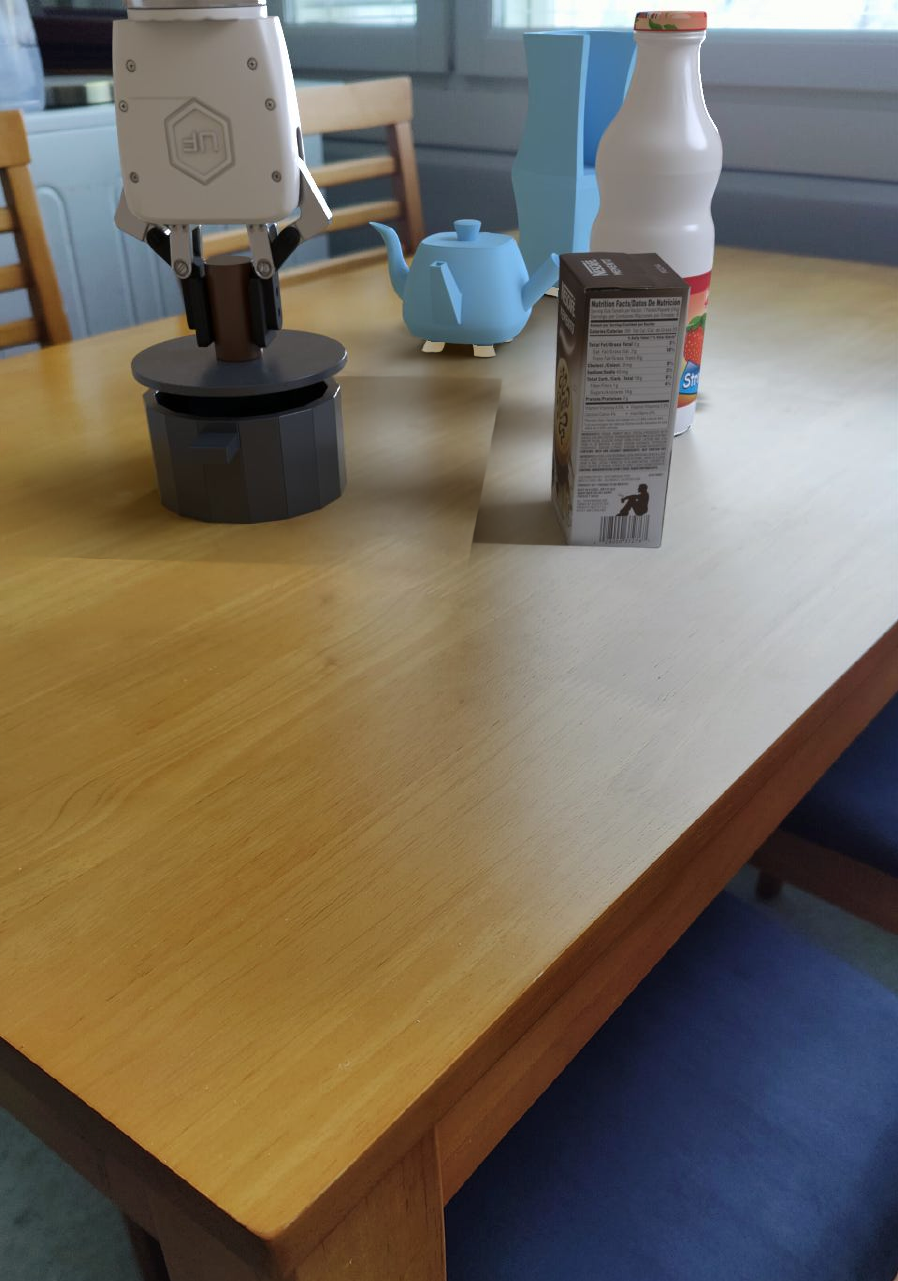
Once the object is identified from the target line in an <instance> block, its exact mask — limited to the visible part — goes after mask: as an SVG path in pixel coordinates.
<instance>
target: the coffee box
mask: <svg viewBox="0 0 898 1281" xmlns="http://www.w3.org/2000/svg"><path fill="white" fill-rule="evenodd" d="M559 261H560V262H559V290H558V297H557V315H556V316H557V319H556V320H557V321H556V322H557V323H556V342H555V344H556V347H555V348H556V349H555V376H554V405H553V407H554V408H553V428H552V449H551V450H552V453H551V480H550V482H551V483H550V485H551V486H550V502H551V504H552V507H553V509H554V511H555V514H556V516H557V520H558V523H559V525H560V528H561V531H562V533H563V536H564V539H565V542H566V544H567V546H568V547H591V548H592V547H593V548H596V547H598V548H599V547H600V548H601V547H602V548H628V549H629V548H633V549H657V548H660V547H662V543H663V542H662V541H663V535H664V534H663V532H664V525H665V515H666V514H665V513H666V505H667V497H668V490H669V480H670V473H671V472H670V471H671V464H672V455H673V447H674V438H675V436H674V430H675V422H676V413H677V404H678V396H679V387H680V378H681V370H682V361H683V351H684V342H685V333H686V324H687V315H688V305H689V296H690V288H691V286H690V285H689V284H688V283H687V282H686V281H685V280H684V279H683V278H681V277H680V276H679V275H678V274H677V273H676V272H675V271H674V270H673V269H672V268H671V267H670V266H669V265H668V264H667V263H666V262H665V261H664V260H663V259H662V258H661V257H660V256H659V255H658V254H657V253H639V254H626V253H616V252H585V253H566V254H561V255H559Z"/></svg>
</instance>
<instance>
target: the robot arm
mask: <svg viewBox="0 0 898 1281" xmlns="http://www.w3.org/2000/svg"><path fill="white" fill-rule="evenodd" d="M121 5H122V7H126V14H127V19H115V20H113V21H112V80H113V98H114V99H113V100H114V113H115V123H116V136H117V137H116V138H117V145H118V146H117V147H118V156H119V166H120V172H121V180H122V189H121V192H120V195H119V199H118V202H117V205H116V208H115V212H114V215H113V223H114V226H115V227H116V228H117V229H118V230H120V231H122V232H123V233H125V234H127V235H128V236H130V237H132V238H135V239H136V240H138V241H140V242H143V243H145V244H146V245H148V246H149V248H150V249H151V250H152V251H153V252H155V253H156V254H157V255H158V256H159V258H161V259H162V260H163V262H165V264H167V265H168V266H169V267H170V268H171V270H172V273H173V275H174V276H175V277H176V278H178V279H180V281H181V289H182V297H183V302H184V303H183V304H184V309H185V317H186V322H187V327H188V329H189V330H190V331H195V332H194V333H195V334H196V339H197V344H198V347H208V346H209V345H211V344H212V343H213V342H214V338H213V331H212V323H211V316H210V309H209V301H208V294H207V286H206V279H205V271H204V264H203V263H204V261H205V260H204V246H203V225H206V226H208V225H212V226H213V225H214V226H215V225H218V226H220V225H223V226H224V225H225V226H226V225H228V226H229V225H235V226H236V225H245V228H246V233H247V238H248V243H249V248H250V253H251V258H252V260H253V267H252V272H253V277H252V278H251V279H250V280H249V281H248V291H249V299H250V308H251V317H252V326H253V334H254V343H255V345H258V347H259V348H267V347H268V346H269V345H270V343H271V342H272V341H273V340H274V339H275V337H276V330H281V329H283V324H284V323H283V322H284V317H283V316H284V315H283V308H282V306H283V305H282V297H281V289H280V288H281V287H280V278H279V277H280V276H279V270H280V269H281V268H282V267H283V265H284V264H285V263H286V261H287V260H288V259H289V258H290V257H291V255H293V253H294V252H295V251H296V250H297V248H298V247H299V246H300V245H302V244H304V243H305V242H307V241H309V240H310V239H312V238H313V237H315V236H317V235H318V234H320V233H321V232H324V230H326V229H327V228H328V227H329V226H330V225H331V224H332V222H333V214H332V212H331V210H330V208H329V206H328V205H327V203H326V200H325V199H324V198H323V195H322V193H321V191H320V190H319V188H318V186H317V185H316V183H315V181H314V179H313V177H312V176H311V173H310V172H309V170H308V168H307V164H306V163H307V162H306V153H305V145H304V140H303V139H304V138H303V133H302V132H303V131H302V127H301V126H302V125H301V119H300V114H299V113H300V111H299V107H298V101H297V96H296V94H297V93H296V88H295V82H294V77H293V72H292V68H291V62H290V58H289V53H288V48H287V44H286V40H285V36H284V32H283V28H282V24H281V21H280V18H279V16H278V15H268V8H267V0H121ZM298 208H299V210H300V216H299V217H298V218H296V219H295V220H293V221H292V222H290V223H289V224H287V225H286V226H285V227H284V228H282V230H279V226H278V222H280V221H284V220H285V219H287V218H289V216H291V215H292V214H293V212H294V211H295V210H296V209H298Z"/></svg>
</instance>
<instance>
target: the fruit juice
mask: <svg viewBox="0 0 898 1281" xmlns="http://www.w3.org/2000/svg"><path fill="white" fill-rule="evenodd" d="M707 30H708V13H707V11H702V10H649V11H648V10H647V11H639V12H636V14H635V17H634V24H633V31H635V32H634V34H635V36H634V41H636V42H637V57H636V63H635V67H634V71H633V75H632V78H631V82H630V85H629V88H628V91H627V94H626V96H625V99H624V102H623V104H622V106H621V108H620V110H619V112H618V113H617V115H616V116H615V118H614V119H613V120H612V122H611V123H610V124H609V126H608V127H607V129H606V130H605V132H604V134H603V135H602V137H601V140H600V142H599V145H598V149H597V155H596V164H595V171H596V179H597V185H598V190H599V196H600V203H599V209H598V213H597V215H596V217H595V220H594V222H593V225H592V229H591V235H590V242H589V251H588V252H616V253H626V254H639V253H657V254H658V255H659V256H660V257H661V258H662V259H663V260H664V261H665V262H666V263H667V264H668V265H669V266H670V267H671V268H672V269H673V270H674V271H675V272H676V273H677V274H678V275H679V276H680V277H681V278H683V279H684V280H685V281H686V282H687V283H688V284H689V285H690V286H691V288H690V296H689V305H688V315H687V324H686V333H685V342H684V351H683V361H682V370H681V378H680V387H679V396H678V404H677V413H676V422H675V430H674V433H677V432H681V431H683V430H685V429H687V428H688V427H689V426H690V425H691V426H692V424H693V421H694V417H695V414H696V408H697V398H698V390H699V381H700V375H701V374H700V372H701V365H702V358H703V357H702V356H703V355H702V354H703V348H704V347H703V346H704V338H705V331H706V321H707V312H708V305H709V295H710V286H711V279H712V278H711V277H712V272H713V271H712V270H713V264H714V256H715V255H714V254H715V234H716V233H715V224H714V220H713V217H712V209H711V207H712V200H713V197H714V193H715V190H716V188H717V185H718V182H719V179H720V176H721V172H722V169H723V156H724V155H723V154H724V152H723V143H722V138H721V135H720V132H719V131H718V129H717V127H716V125H715V124H714V122H713V120H712V118H711V117H710V114H709V112H708V110H707V106H706V104H705V99H704V94H703V88H702V87H703V86H702V80H701V73H700V50H701V44H702V43H703V42H704V41H705V39H706V33H707V32H706V31H707ZM691 426H690V427H691Z"/></svg>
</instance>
